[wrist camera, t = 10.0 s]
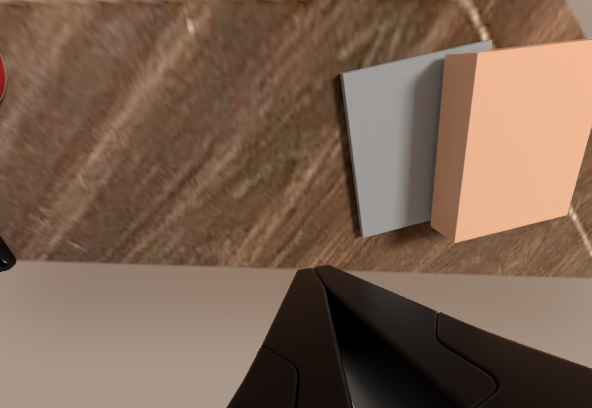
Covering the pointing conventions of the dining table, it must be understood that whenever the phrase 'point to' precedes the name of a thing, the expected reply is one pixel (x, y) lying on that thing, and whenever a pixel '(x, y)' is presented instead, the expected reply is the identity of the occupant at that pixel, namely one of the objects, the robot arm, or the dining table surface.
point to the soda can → (3, 76)
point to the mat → (396, 137)
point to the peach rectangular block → (510, 136)
